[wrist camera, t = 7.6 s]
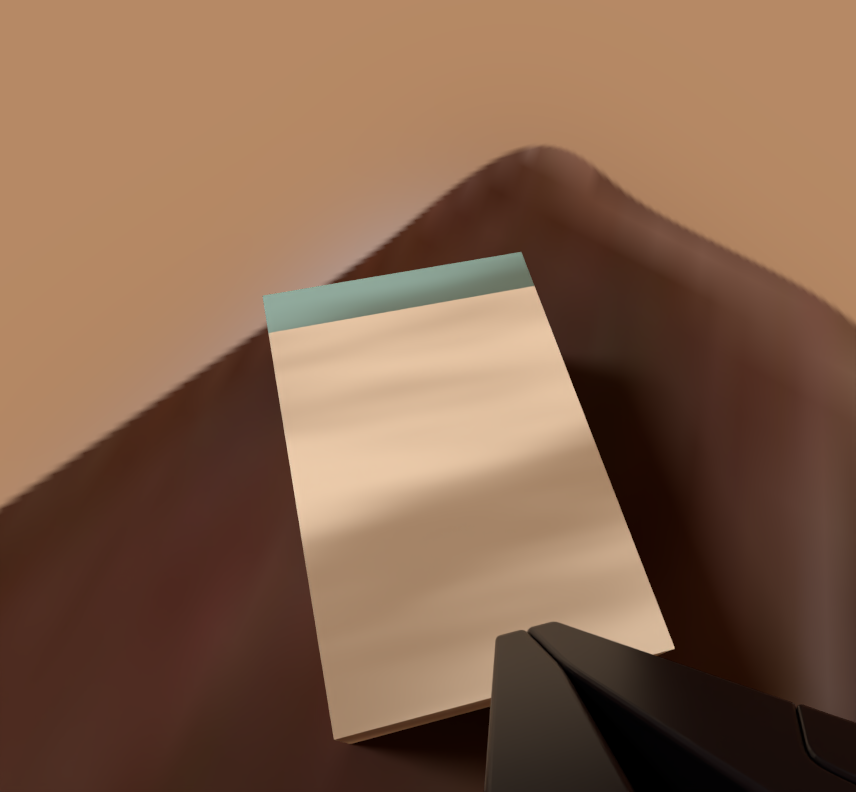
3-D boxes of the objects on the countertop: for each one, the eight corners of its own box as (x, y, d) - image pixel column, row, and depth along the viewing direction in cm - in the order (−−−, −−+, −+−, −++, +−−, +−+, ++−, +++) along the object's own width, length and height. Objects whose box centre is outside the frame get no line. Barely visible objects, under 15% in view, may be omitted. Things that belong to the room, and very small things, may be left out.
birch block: (675, 648, 12) (521, 252, 16) (333, 740, 11) (262, 295, 15) (606, 675, 16) (496, 351, 20) (350, 743, 15) (290, 390, 19)
